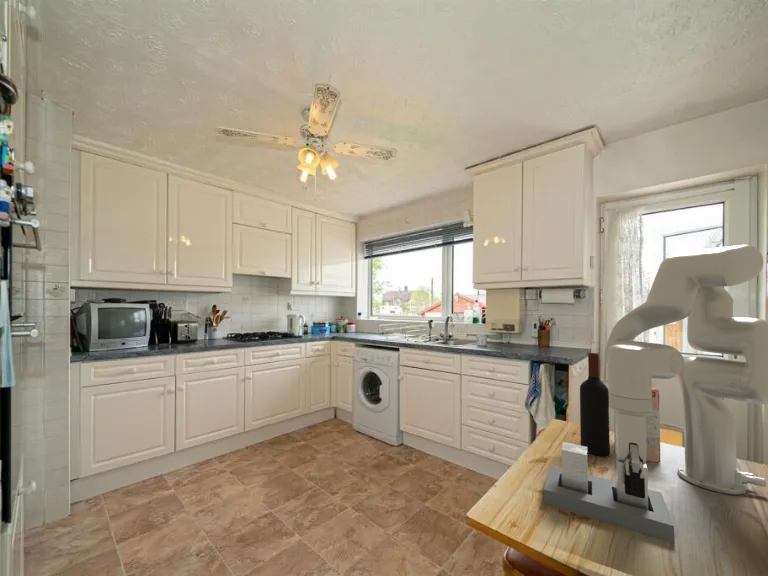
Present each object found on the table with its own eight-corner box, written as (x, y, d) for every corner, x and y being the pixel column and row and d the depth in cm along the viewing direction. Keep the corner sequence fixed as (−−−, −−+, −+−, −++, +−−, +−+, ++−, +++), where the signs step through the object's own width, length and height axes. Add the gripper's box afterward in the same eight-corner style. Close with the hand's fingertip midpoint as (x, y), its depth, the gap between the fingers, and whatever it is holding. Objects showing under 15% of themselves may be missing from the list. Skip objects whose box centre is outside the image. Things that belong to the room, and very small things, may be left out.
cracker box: (662, 463, 94) (660, 389, 95) (638, 461, 95) (636, 388, 96) (635, 443, 108) (634, 378, 109) (615, 441, 109) (613, 377, 110)
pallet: (661, 511, 72) (661, 492, 73) (674, 548, 61) (673, 525, 62) (549, 481, 84) (549, 465, 84) (543, 507, 73) (543, 489, 73)
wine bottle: (575, 446, 105) (573, 351, 106) (597, 445, 106) (595, 351, 107) (592, 457, 97) (591, 355, 99) (616, 456, 98) (614, 355, 100)
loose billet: (645, 510, 71) (643, 458, 71) (648, 523, 67) (647, 467, 67) (616, 502, 73) (615, 452, 74) (618, 514, 69) (617, 461, 70)
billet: (588, 495, 76) (587, 446, 77) (588, 506, 72) (587, 455, 72) (563, 488, 79) (562, 441, 79) (562, 499, 75) (561, 449, 75)
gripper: (607, 391, 80) (608, 462, 80) (610, 411, 66) (613, 499, 65) (646, 396, 76) (648, 471, 76) (659, 418, 62) (662, 512, 61)
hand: (632, 484), depth 70 cm, fingers open, 9 cm apart
